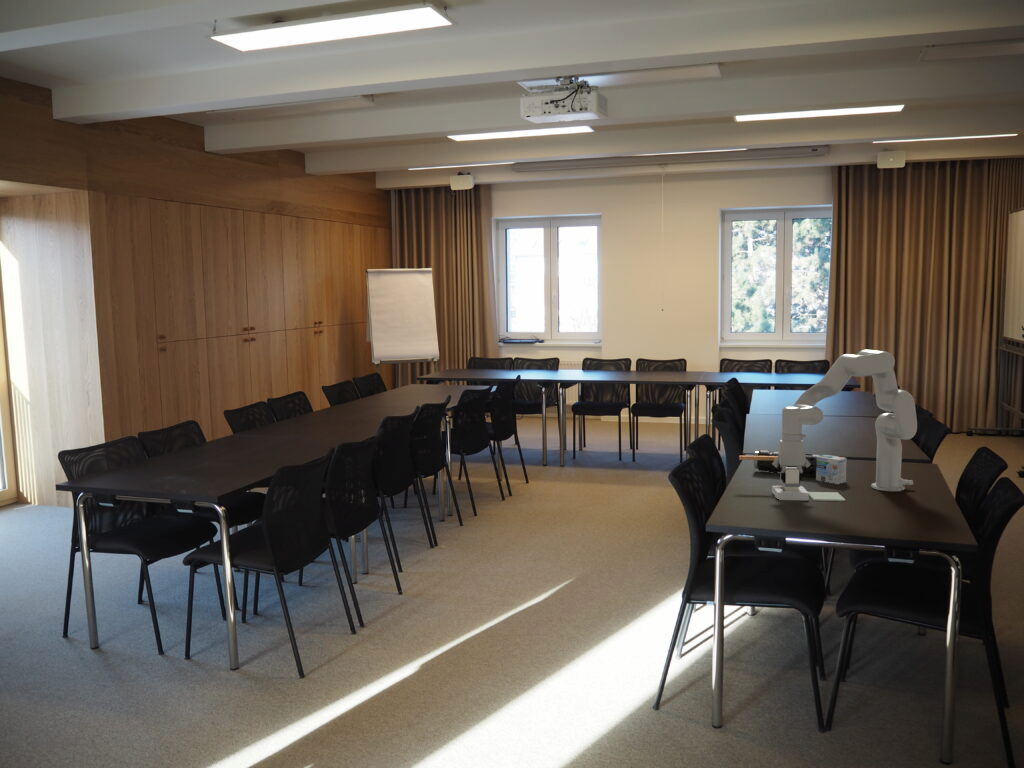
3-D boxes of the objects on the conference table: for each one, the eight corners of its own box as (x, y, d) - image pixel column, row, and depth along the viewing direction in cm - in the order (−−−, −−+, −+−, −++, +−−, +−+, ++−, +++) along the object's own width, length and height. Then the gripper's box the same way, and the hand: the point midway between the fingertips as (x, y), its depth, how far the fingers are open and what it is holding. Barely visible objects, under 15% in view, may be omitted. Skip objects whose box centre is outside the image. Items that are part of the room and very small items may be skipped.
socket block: (796, 487, 358) (797, 459, 356) (808, 500, 336) (809, 470, 335) (767, 487, 359) (768, 459, 358) (777, 499, 338) (778, 470, 336)
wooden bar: (787, 459, 357) (787, 454, 356) (788, 461, 354) (788, 456, 353) (739, 458, 360) (739, 454, 359) (739, 460, 357) (739, 455, 356)
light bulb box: (815, 480, 371) (816, 456, 370) (823, 478, 375) (824, 454, 374) (838, 484, 363) (839, 459, 361) (846, 482, 367) (847, 457, 366)
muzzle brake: (818, 479, 373) (818, 456, 372) (752, 473, 386) (753, 451, 384) (820, 475, 382) (821, 452, 380) (757, 469, 394) (757, 447, 393)
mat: (837, 493, 346) (837, 492, 346) (845, 501, 335) (845, 499, 335) (807, 493, 348) (807, 491, 348) (813, 500, 336) (813, 499, 336)
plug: (796, 491, 345) (797, 466, 344) (800, 494, 340) (800, 470, 338) (782, 491, 346) (782, 466, 345) (785, 494, 340) (785, 470, 339)
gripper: (811, 435, 343) (810, 480, 345) (768, 436, 345) (767, 479, 347) (816, 439, 336) (815, 484, 338) (771, 439, 338) (771, 484, 340)
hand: (791, 481), depth 342 cm, fingers closed on plug, 5 cm apart
